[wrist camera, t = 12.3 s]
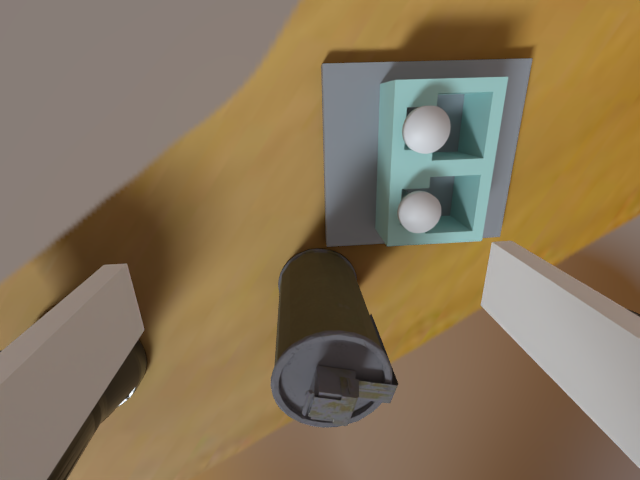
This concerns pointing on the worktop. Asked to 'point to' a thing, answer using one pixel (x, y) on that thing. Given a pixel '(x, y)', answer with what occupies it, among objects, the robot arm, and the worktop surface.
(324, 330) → the canister
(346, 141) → the board
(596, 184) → the worktop surface
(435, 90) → the teal breeze block
